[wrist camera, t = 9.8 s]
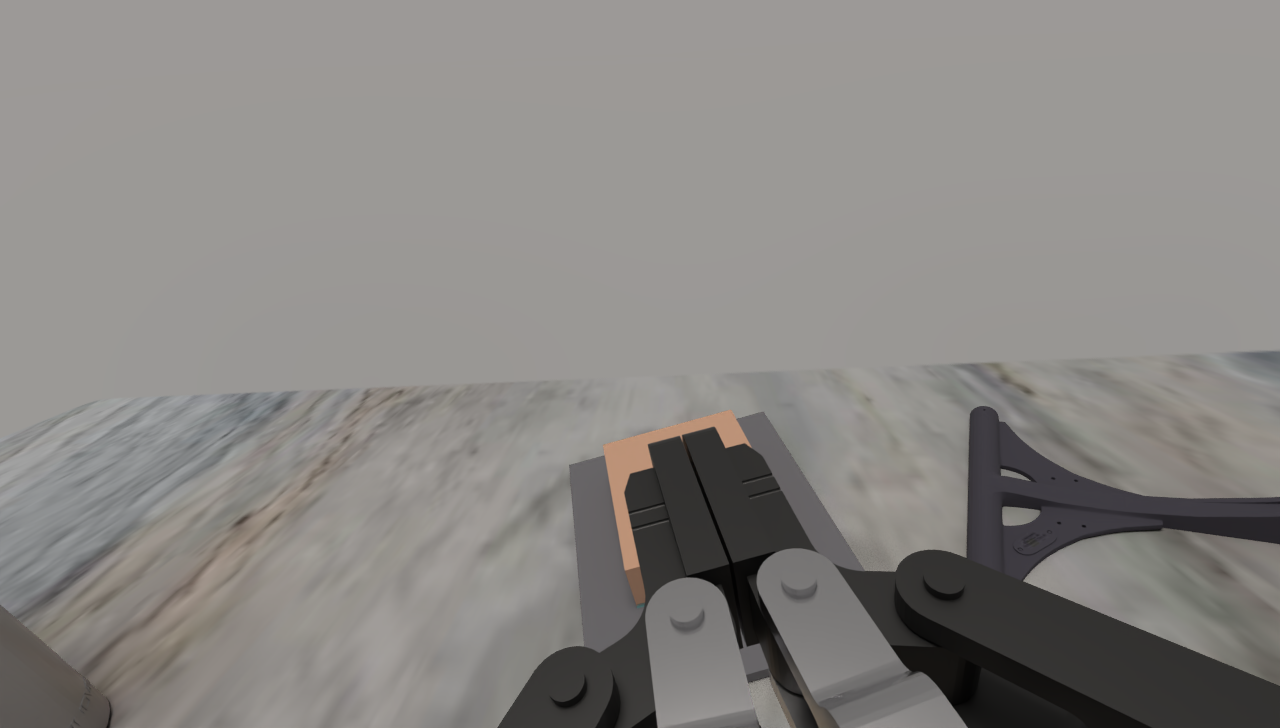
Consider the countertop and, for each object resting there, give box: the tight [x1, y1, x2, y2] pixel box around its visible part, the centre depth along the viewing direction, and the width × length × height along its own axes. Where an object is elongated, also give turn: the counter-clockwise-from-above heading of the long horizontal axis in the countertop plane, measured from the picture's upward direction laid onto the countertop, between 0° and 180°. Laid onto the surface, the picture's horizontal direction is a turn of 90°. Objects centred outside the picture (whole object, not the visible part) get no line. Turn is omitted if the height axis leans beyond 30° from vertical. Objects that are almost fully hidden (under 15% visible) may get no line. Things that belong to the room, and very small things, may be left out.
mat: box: [569, 412, 865, 682], centre depth 36 cm, size 15×19×1 cm
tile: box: [603, 410, 752, 608], centre depth 36 cm, size 9×3×11 cm
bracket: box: [967, 406, 1280, 581], centre depth 30 cm, size 14×15×3 cm
